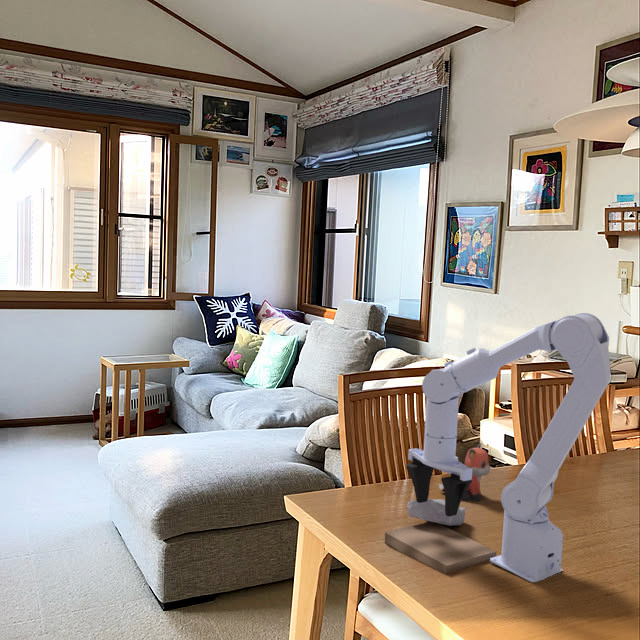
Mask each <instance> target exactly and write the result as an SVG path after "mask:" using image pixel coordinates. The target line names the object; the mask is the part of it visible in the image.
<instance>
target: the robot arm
mask: <svg viewBox="0 0 640 640" xmlns="http://www.w3.org/2000/svg"><path fill="white" fill-rule="evenodd" d="M609 345H610V336H609V334H608V332H607V329H605V326H604V324H603V322H602V321H601V320H600V318H598V317H597V316H596V315H594V314H591V313H589V312H587V313H586V312H580V313H576V314H574V315H566V316H563V317H561V318H559V319H557V320H553V321H550V322H549V321H548V322H546V323H543V324H540V325H538V326H535V327H533V328H532V329H529V330H528V331H526V332H524V333H522V334H520V335H518V336H516V337H515V338H513V339H511V340H509V341H508V342H506V343H504V344H502V345H500V346H498V347H496V348H495V349H492V350H489V349H486V348H481V347H480V348H478V349H476V347H474V348H473V347H472V348H470V349H468V350H467V351H466V355H464V356H462V357H460V358H458V359H456V360H454V361H452V360H449V361H446V362H445V363H444V368H438V369H431V371H429V373H427V374H426V375H425V376H424V378H423V380H422V384H421V387H422V392H423V394H424V396H425V397H426V405H425V407H426V408H425V418H424V419H425V421H424V422H425V423H424V437H423V438H424V439H423V449H420V448H416V447H415V448H410V449H408V454H407V460H408V461H411V463H407V464H406V470H407V472H408V474H409V476H410V479H411V482H412V485H413V490H414V494H415V499H416V500H417V502H418V503H422V502H427V500H428V499H429V495H430V485H431V479H432V476H433V472H434V469H436V470H439V471H440V472H443V473H446V474H449V475H450V476H445V477H442V478H441V479H440V480H441V484H443V487H444V491H443V492H444V498H445V499H444V500H445V513H446V516H454V515H456V514H457V511H458V508H459V507H460V504H461V502H462V501H463V500H462V497H463V495H464V493H465V491H466V490H467V488H468V487H469V485H470V484H471V483H472V469H471V468H469V467H467V466H465V463H464V464H463V463H462V462H461V461H460V460H459V457H458V456H456V452H457V451H456V450H457V436H458V421H459V419H458V418H459V399H460V397H461V396H462V395H463V394H464V393H468V392H469V391H471V390H474V389H475V388H477V387H480V386H481V385H484V384H486V383H489V382H490V381H492V380H494V379H496V378H497V377H498V374H499V371H500V368H501V367H503V366H505V365H508V364H510V363H512V362H514V361H517V360H519V359H522V358H524V357H525V356H528V355H530V354H532V353H535V352H536V351H539V350H540V351H547V352H553V351H555V350H556V351H557V352H558V353H559V355H561V356H562V358H563V359H564V360H565V361H566V362H567V364H568V366H569V369H570V371H571V373H572V376H573V380H572V383H571V385H570V387H569V388H568V389H567V392H566V394H565V395H564V397H563V399H562V401H561V403H560V405H559V406H558V408H557V410H556V411H555V413H554V414H553V417H552V419H551V421H550V423H549V424H548V426H547V428H546V429H545V431H544V433H543V435H542V437H541V438H540V440H539V442H538V444H537V446H536V448H535V449H534V451H532V455H531V456H530V458H529V459H528V461H527V462H526V464H525V465H524V466H523V468H521V470H520V472H519V473H518V475H517V476H516V478H515V480H513V481H512V482H510V483H508V484H507V485H505V486H504V487H503V489H502V491H501V495H500V502H501V505H502V508H503V510H504V511H503V522H502V523H503V528H502V539H501V540H502V541H501V551H500V552H501V554H500V555H496V557H493V558H490V560H489V562H490V563H492V564H494V565H496V566H499V567H501V568H502V569H504V570H506V571H509V572H510V573H513V574H514V575H517V576H518V577H521V578H522V579H524V580H527V581H529V582H530V583H537V582H541V581H542V580H546V579H548V578H547V577H549V576H551V575H554V574H556V573H559V572H561V570H562V569H563V568H562V559H563V558H562V557H563V545H564V535H563V532H562V530H561V529H560V528H559V527H558V526H556V525H555V524H554V523H552V521H551V520H550V519H549V517H550V515H549V510H548V508H547V504H549V502H551V500H552V498H553V496H554V484H555V482H556V479H557V478H558V476H559V470H560V469H561V467H562V465H563V464H564V462H565V459H566V458H567V456H568V454H569V453H570V451H571V450H572V448H573V446H574V444H575V443H576V441H577V439H578V437H579V435H580V434H581V432H582V431H583V429H584V427H585V425H586V424H587V422H588V420H589V418H590V417H591V415H592V414H593V412H594V410H595V408H596V406H597V404H598V402H599V401H600V399H601V398H602V395H603V394H604V393H605V390H606V389H607V387H608V385H609V383H610V380H611V378H612V377H611V376H612V374H611V373H612V372H611V363H610V351H609ZM563 570H564V569H563ZM563 570H562V571H563ZM559 574H560V573H559ZM556 575H557V574H556ZM554 576H555V575H554ZM551 577H552V576H551ZM545 578H546V579H545ZM549 578H550V577H549Z"/></svg>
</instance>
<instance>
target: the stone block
mask: <svg viewBox="0 0 640 640" xmlns="http://www.w3.org/2000/svg"><path fill="white" fill-rule="evenodd" d="M406 509H407V515H408V516H409V517H411V518H415V519H420V520H422V521H426V522H435V523H438V524H440V525H443V526H449V527H450V526H462V525H463V524H464V523H465V519H466V517H465V516H466V510H467V509H466V507H460V506H459V508H458V511H457V514H456V515H454V516H446V513H445V499H442V498H439V499H438V498H437V499H433V498H428V500H427V502H422V503H418V502H417V500H416V498H415V499H412V500H409V501H408V502H407V505H406Z"/></svg>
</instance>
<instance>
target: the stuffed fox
mask: <svg viewBox="0 0 640 640" xmlns="http://www.w3.org/2000/svg"><path fill="white" fill-rule="evenodd" d="M481 446H482V443H481V442H479V443H478V444H477V446H476V447H472V448H469V449H468V451H467V452H466V455H465V459H464V465H465V466H467V467H469V468H471V469H472V483H471V484H470V485H469V487H468V488H467V490H466V491H465V493H464V495H463V497H462V500H461V501H465V502H466V501H471V502H472V501H473V502H481V501H482V500H483V499H482V491H481V482H480V481H481V480H482V479H481V478H482V476H487V475H488V474H489V473H490V469H491V468H490V463H489V453H488V452H487V451H486V450H485V449H483V448H481ZM437 485H438V488H439V490H440V491H441V492H444V487H443V483H438V484H437Z"/></svg>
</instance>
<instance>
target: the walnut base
mask: <svg viewBox="0 0 640 640" xmlns="http://www.w3.org/2000/svg"><path fill="white" fill-rule="evenodd" d="M384 544H385V545H387V546H390V547H391V548H393V549H395V550H396V551H398V552H400V553H402V554H404V555H407V556H408V557H410V558H412V559H414V560H417V561H419V562H420V563H423V564H424V565H426V566H428V567H431V568H433V569H435V570H437V571H438V572H440V573H442V574H445V575H448V574H451V573H454V572H457V571H459V570H462V569H465V568H469V567H471V566H475V565H478V564H481V563H484V562H487V561H490V560H489V559H490V558H493V557H496V556H497V551H496V550H494V549H492V548H490V547H488V546H486V545H484V544H482V543H481V542H478V541H476V540H473V539H471V538H469V537H467V536H466V535H463V534H462V533H460V532H457V531H455V530H453V529H451V528H449V527H446V525H444V524H440V523H435V522H431V521H426V522H423V523H420V524H414V525H411V526H405V527H402V528H398V529H394V530H393V529H392V530H389V531H385V533H384Z"/></svg>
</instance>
